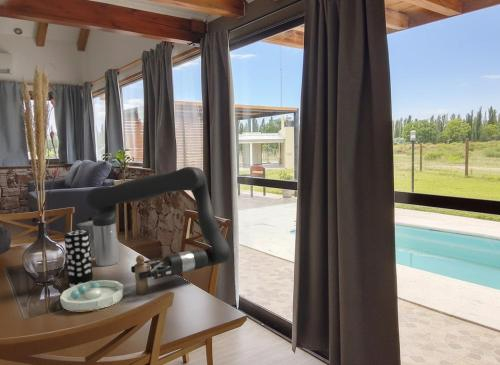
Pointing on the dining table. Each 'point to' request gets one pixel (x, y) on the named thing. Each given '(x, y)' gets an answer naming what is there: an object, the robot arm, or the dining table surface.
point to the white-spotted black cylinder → (78, 257)
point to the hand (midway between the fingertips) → (135, 273)
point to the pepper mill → (140, 284)
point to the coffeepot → (89, 226)
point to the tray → (92, 295)
